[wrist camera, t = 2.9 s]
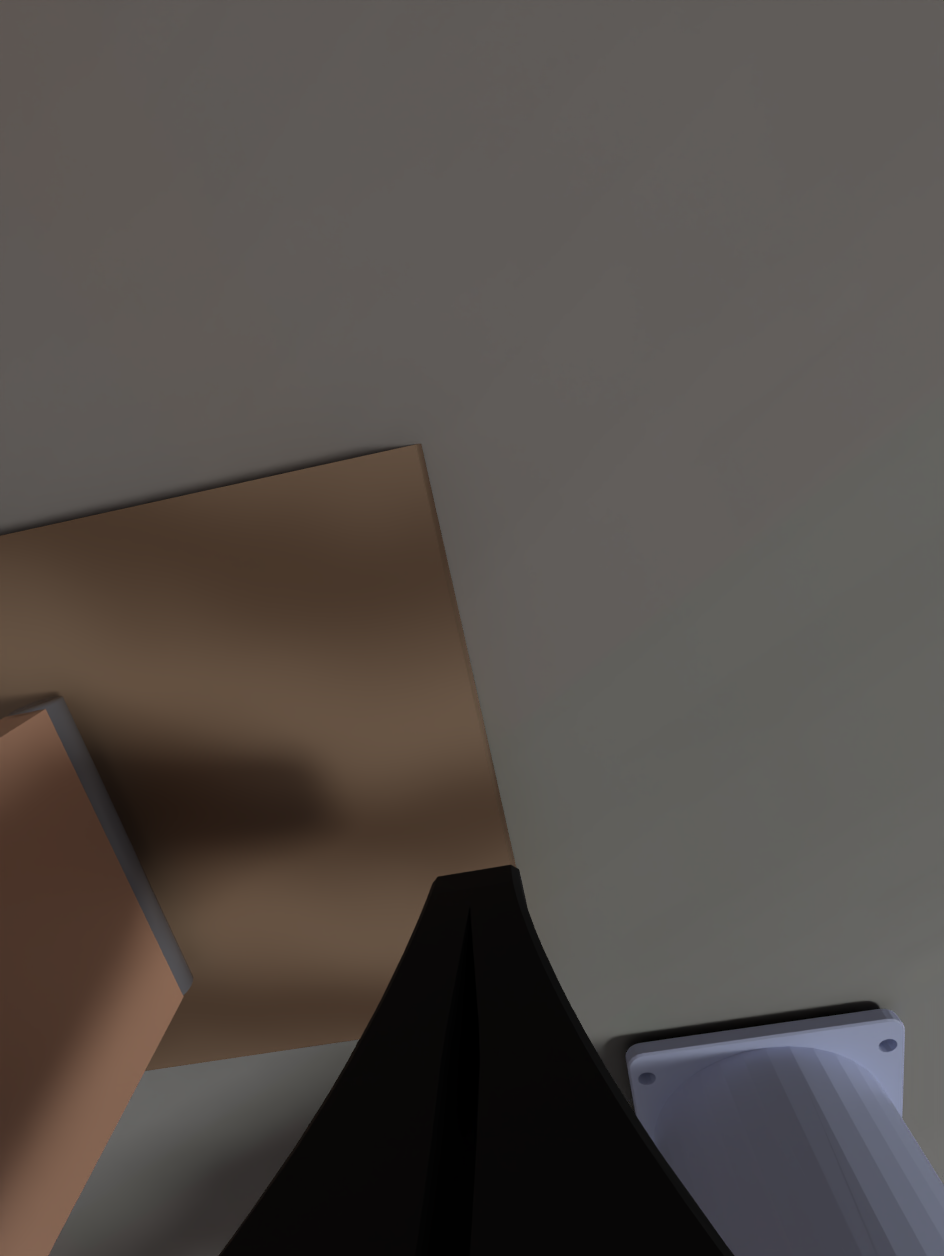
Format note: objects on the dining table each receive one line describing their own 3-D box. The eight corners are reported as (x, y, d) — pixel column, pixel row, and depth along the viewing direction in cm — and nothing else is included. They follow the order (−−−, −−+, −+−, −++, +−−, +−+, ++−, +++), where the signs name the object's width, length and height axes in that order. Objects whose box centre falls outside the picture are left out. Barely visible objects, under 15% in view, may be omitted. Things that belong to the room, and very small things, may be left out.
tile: (-41, 1428, 8) (-112, 1437, 8) (199, 968, 15) (160, 974, 15) (-426, 1007, 6) (-523, 1023, 6) (73, 692, 13) (26, 701, 13)
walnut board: (540, 973, 17) (544, 1011, 16) (-29, 1059, 18) (-63, 1101, 17) (421, 443, 12) (415, 444, 11) (-326, 607, 14) (-400, 623, 12)
